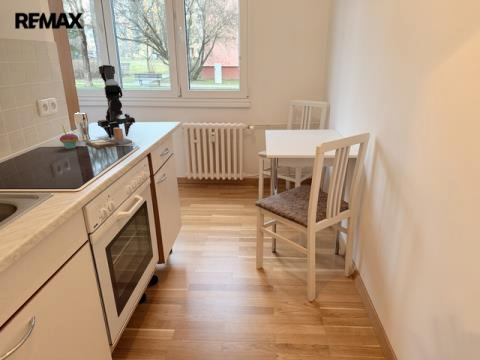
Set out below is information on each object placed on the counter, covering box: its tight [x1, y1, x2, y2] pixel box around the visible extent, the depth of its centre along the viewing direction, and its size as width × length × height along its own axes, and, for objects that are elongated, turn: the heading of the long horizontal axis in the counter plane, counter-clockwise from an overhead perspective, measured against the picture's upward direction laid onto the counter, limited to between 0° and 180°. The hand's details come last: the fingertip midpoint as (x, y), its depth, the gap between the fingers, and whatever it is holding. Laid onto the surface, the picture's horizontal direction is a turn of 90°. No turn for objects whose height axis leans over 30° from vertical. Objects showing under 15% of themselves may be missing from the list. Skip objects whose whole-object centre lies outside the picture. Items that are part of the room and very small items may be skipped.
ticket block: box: [85, 138, 119, 150], centre depth 176 cm, size 16×11×2 cm
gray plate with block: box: [106, 128, 133, 147], centre depth 181 cm, size 16×7×8 cm, turn 43°
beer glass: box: [73, 112, 91, 142], centre depth 186 cm, size 7×7×15 cm
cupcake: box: [59, 124, 79, 150], centre depth 169 cm, size 9×8×12 cm
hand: (118, 137), depth 182 cm, fingers open, 9 cm apart
